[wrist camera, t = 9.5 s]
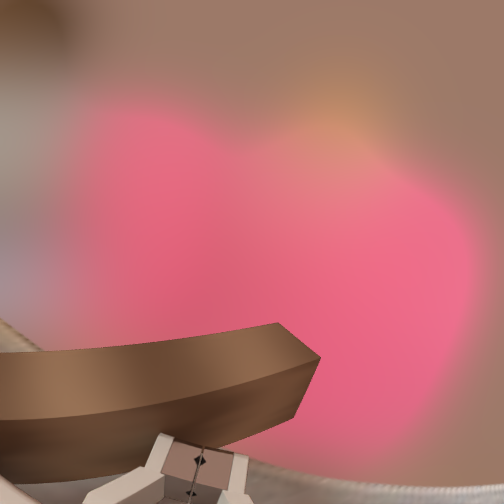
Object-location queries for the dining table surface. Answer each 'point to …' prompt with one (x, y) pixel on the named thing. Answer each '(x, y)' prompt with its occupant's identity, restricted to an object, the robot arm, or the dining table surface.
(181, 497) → the robot arm
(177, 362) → the walnut swing arm
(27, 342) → the dining table surface
